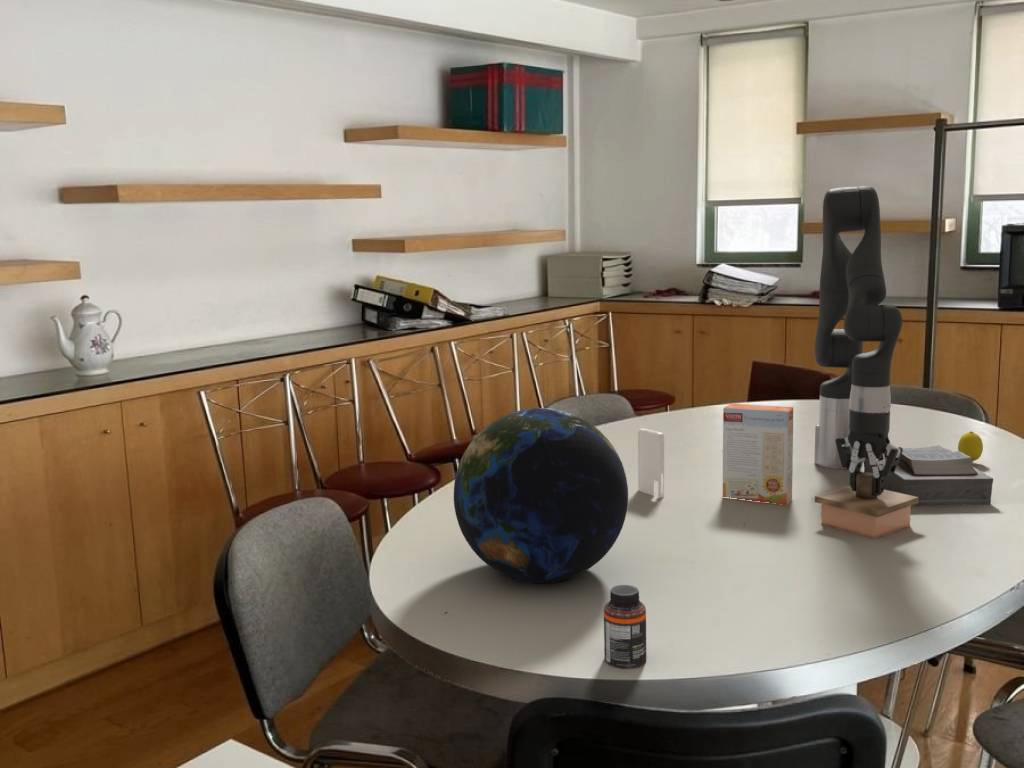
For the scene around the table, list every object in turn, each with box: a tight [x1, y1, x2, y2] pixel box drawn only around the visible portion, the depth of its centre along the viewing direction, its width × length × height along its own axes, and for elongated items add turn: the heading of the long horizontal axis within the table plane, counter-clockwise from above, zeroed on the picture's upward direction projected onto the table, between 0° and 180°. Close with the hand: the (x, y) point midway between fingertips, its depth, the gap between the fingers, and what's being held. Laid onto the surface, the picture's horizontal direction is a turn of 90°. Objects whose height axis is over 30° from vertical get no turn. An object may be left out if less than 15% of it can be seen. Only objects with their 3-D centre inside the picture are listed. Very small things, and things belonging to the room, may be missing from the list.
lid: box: [814, 471, 919, 517], centre depth 207 cm, size 14×14×6 cm
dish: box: [821, 504, 912, 540], centre depth 208 cm, size 12×12×5 cm
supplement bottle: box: [603, 584, 647, 670], centre depth 148 cm, size 6×6×11 cm
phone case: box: [637, 428, 665, 499], centre depth 231 cm, size 7×1×15 cm, turn 33°
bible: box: [863, 444, 994, 507], centre depth 232 cm, size 23×27×10 cm
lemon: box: [957, 430, 984, 463], centre depth 255 cm, size 6×6×8 cm
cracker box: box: [722, 403, 794, 506], centre depth 226 cm, size 14×6×21 cm, turn 64°
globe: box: [453, 407, 629, 584], centre depth 182 cm, size 30×30×30 cm
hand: (866, 492), depth 207 cm, fingers closed on lid, 4 cm apart
